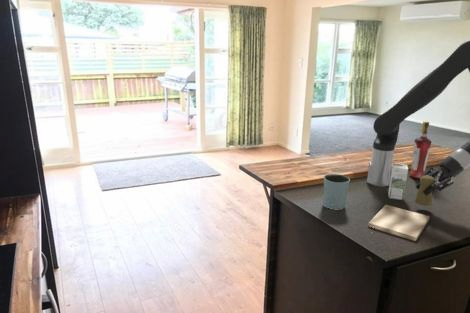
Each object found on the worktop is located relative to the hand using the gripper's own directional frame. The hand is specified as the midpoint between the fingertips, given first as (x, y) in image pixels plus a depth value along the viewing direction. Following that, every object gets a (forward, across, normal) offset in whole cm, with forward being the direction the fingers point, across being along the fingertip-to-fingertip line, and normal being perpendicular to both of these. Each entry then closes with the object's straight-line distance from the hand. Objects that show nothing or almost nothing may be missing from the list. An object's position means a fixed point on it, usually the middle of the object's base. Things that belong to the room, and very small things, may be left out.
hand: (420, 190), depth 143 cm
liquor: (-7, -37, +19) cm, 42 cm away
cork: (+2, 0, +5) cm, 6 cm away
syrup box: (+8, -12, +4) cm, 15 cm away
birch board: (+15, +11, -3) cm, 19 cm away
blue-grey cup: (+29, -4, -17) cm, 34 cm away
